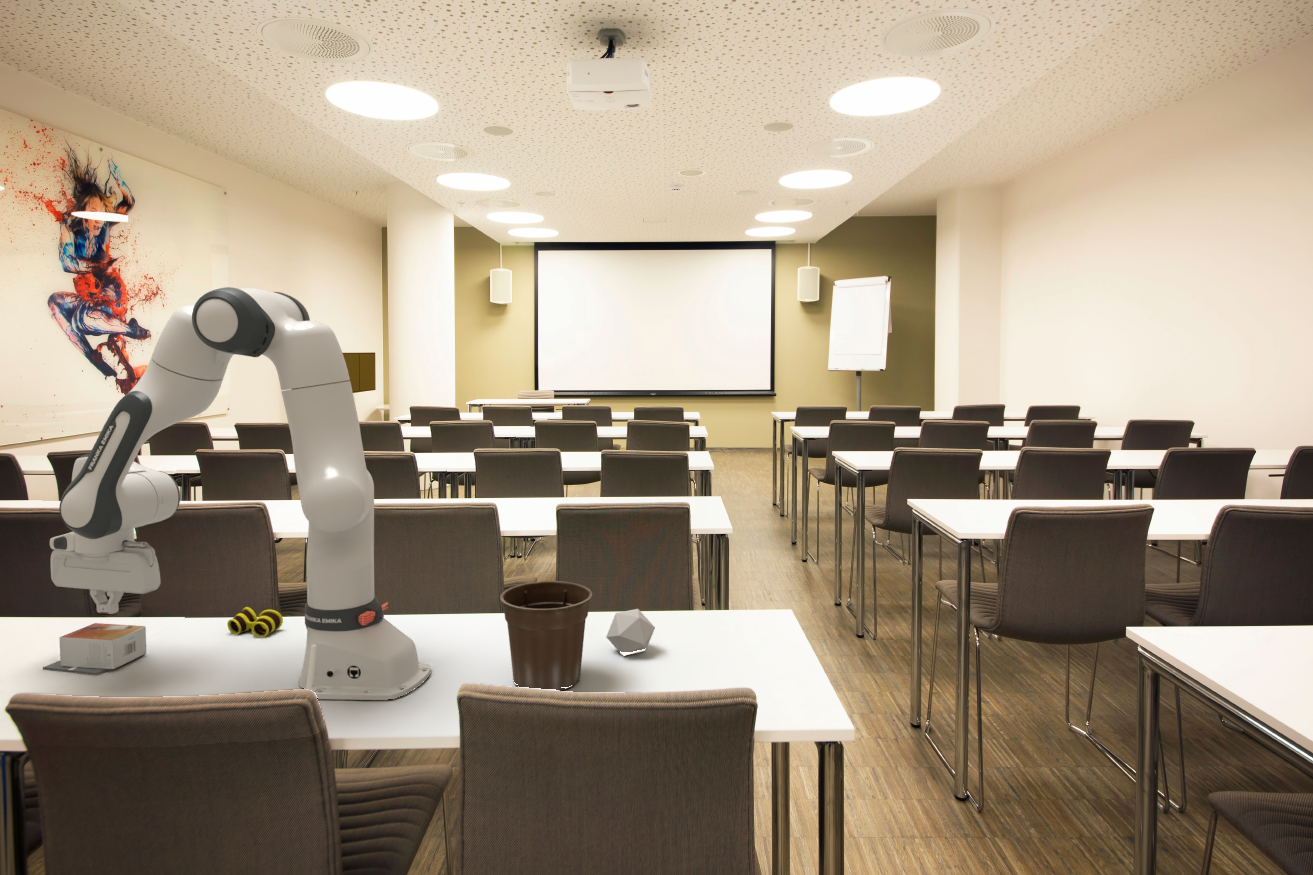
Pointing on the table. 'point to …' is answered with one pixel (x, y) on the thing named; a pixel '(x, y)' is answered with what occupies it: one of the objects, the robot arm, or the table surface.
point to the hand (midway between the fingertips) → (107, 612)
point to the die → (630, 631)
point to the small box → (102, 646)
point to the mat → (74, 669)
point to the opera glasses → (260, 627)
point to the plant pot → (546, 632)
